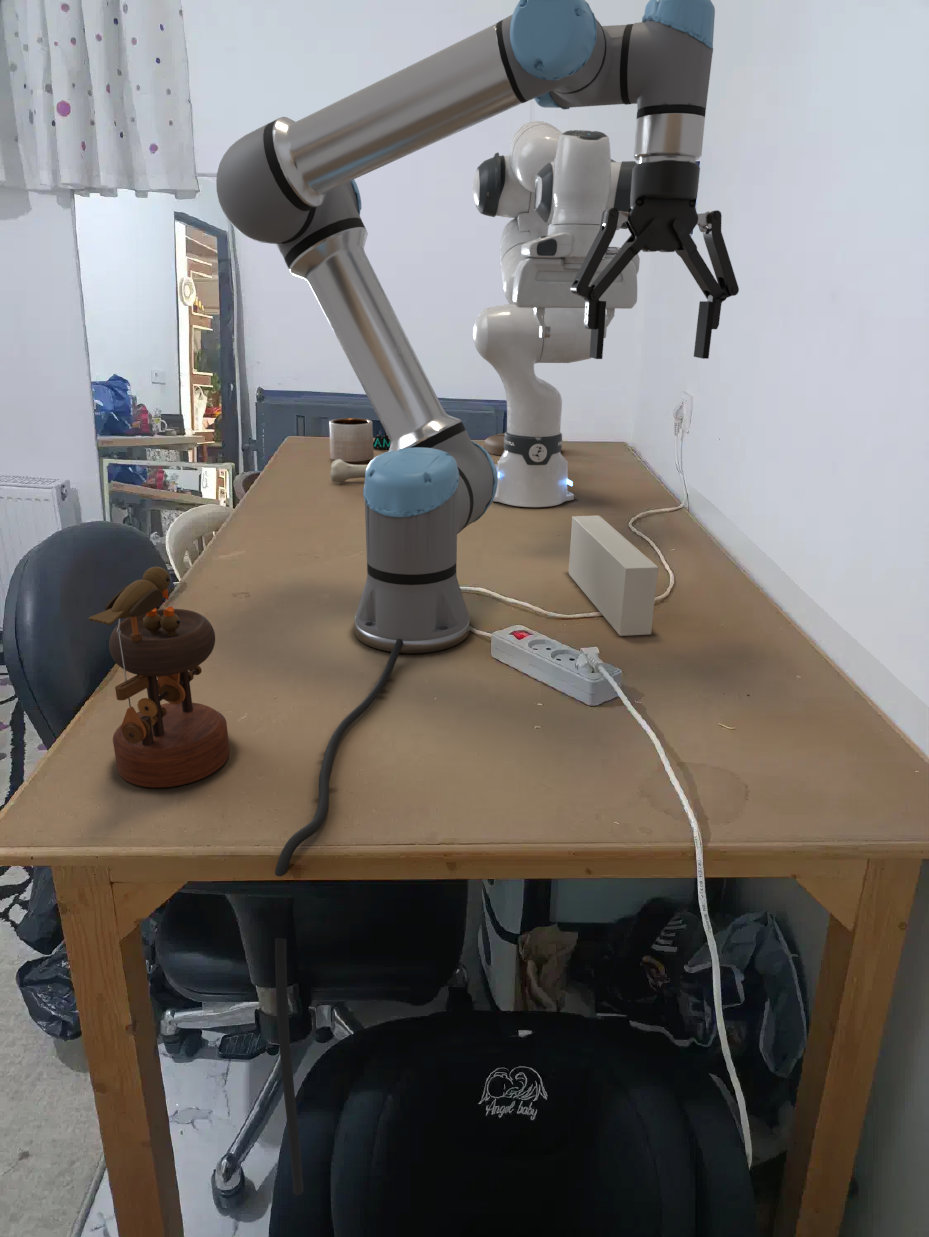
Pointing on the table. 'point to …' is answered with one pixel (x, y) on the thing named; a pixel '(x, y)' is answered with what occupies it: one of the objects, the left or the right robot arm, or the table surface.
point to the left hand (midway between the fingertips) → (648, 358)
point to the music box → (162, 687)
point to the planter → (351, 440)
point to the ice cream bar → (495, 444)
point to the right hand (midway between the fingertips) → (572, 337)
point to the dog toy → (346, 471)
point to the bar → (613, 575)
